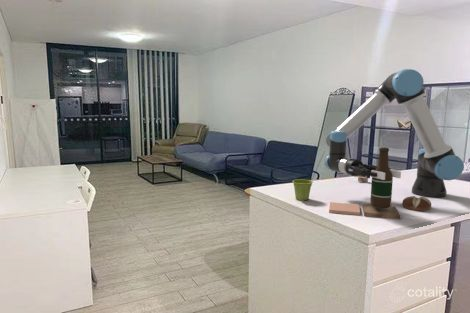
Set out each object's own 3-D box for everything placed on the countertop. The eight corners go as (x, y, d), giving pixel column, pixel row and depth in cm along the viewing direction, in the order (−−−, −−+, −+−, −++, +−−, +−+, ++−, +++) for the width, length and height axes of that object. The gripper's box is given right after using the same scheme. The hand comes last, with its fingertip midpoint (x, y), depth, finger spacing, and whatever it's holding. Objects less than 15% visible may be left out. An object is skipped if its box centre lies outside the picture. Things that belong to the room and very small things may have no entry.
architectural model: (366, 183, 191) (366, 171, 190) (354, 182, 195) (354, 170, 194) (367, 183, 193) (368, 170, 192) (355, 181, 198) (356, 169, 197)
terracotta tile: (358, 207, 142) (358, 204, 142) (360, 215, 131) (360, 212, 131) (330, 204, 146) (330, 202, 146) (329, 212, 135) (329, 209, 135)
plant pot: (312, 202, 150) (313, 183, 149) (291, 201, 152) (292, 182, 151) (311, 197, 159) (312, 179, 158) (292, 196, 161) (292, 178, 160)
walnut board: (395, 209, 138) (395, 206, 138) (400, 219, 126) (400, 215, 126) (362, 207, 142) (362, 203, 142) (364, 216, 130) (364, 212, 130)
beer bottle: (382, 209, 129) (386, 149, 125) (366, 204, 136) (369, 147, 132) (395, 207, 132) (399, 148, 129) (378, 202, 139) (382, 146, 136)
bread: (433, 207, 142) (434, 196, 142) (426, 213, 134) (427, 201, 134) (405, 202, 150) (406, 192, 149) (397, 208, 142) (398, 196, 141)
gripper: (368, 173, 153) (410, 182, 132) (332, 176, 145) (371, 187, 124) (369, 157, 152) (411, 164, 131) (333, 159, 144) (372, 167, 123)
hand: (392, 175), depth 128 cm, fingers closed on beer bottle, 7 cm apart
